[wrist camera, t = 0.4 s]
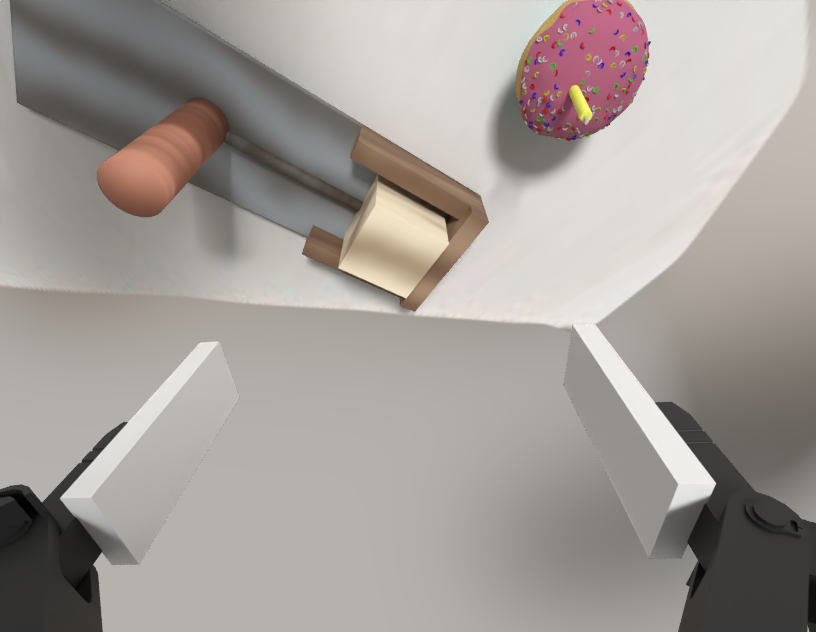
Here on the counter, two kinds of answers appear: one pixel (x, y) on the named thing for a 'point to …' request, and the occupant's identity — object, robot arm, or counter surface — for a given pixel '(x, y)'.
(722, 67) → the counter surface
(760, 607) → the robot arm
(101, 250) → the counter surface
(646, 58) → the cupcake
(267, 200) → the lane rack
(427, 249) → the rod with end block
